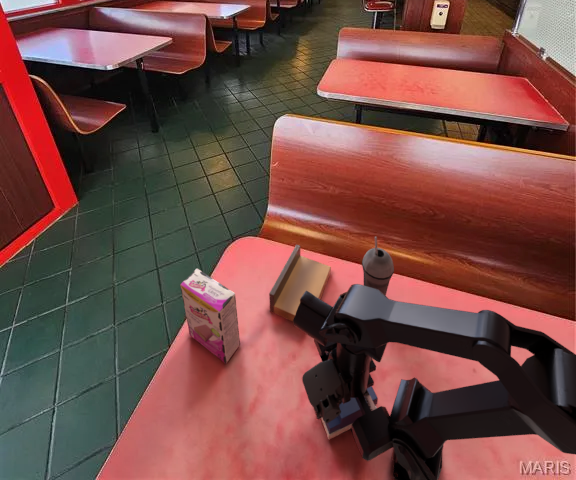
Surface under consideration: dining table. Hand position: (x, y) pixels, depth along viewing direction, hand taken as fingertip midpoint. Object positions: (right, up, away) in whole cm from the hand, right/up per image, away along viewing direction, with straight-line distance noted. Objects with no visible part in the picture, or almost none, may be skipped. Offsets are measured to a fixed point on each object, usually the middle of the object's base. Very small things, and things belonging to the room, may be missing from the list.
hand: (348, 408), depth 60 cm
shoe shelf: (-8, +8, +23) cm, 26 cm away
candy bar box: (-27, +3, +12) cm, 30 cm away
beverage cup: (+10, +7, +21) cm, 24 cm away
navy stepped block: (0, -1, 0) cm, 1 cm away
